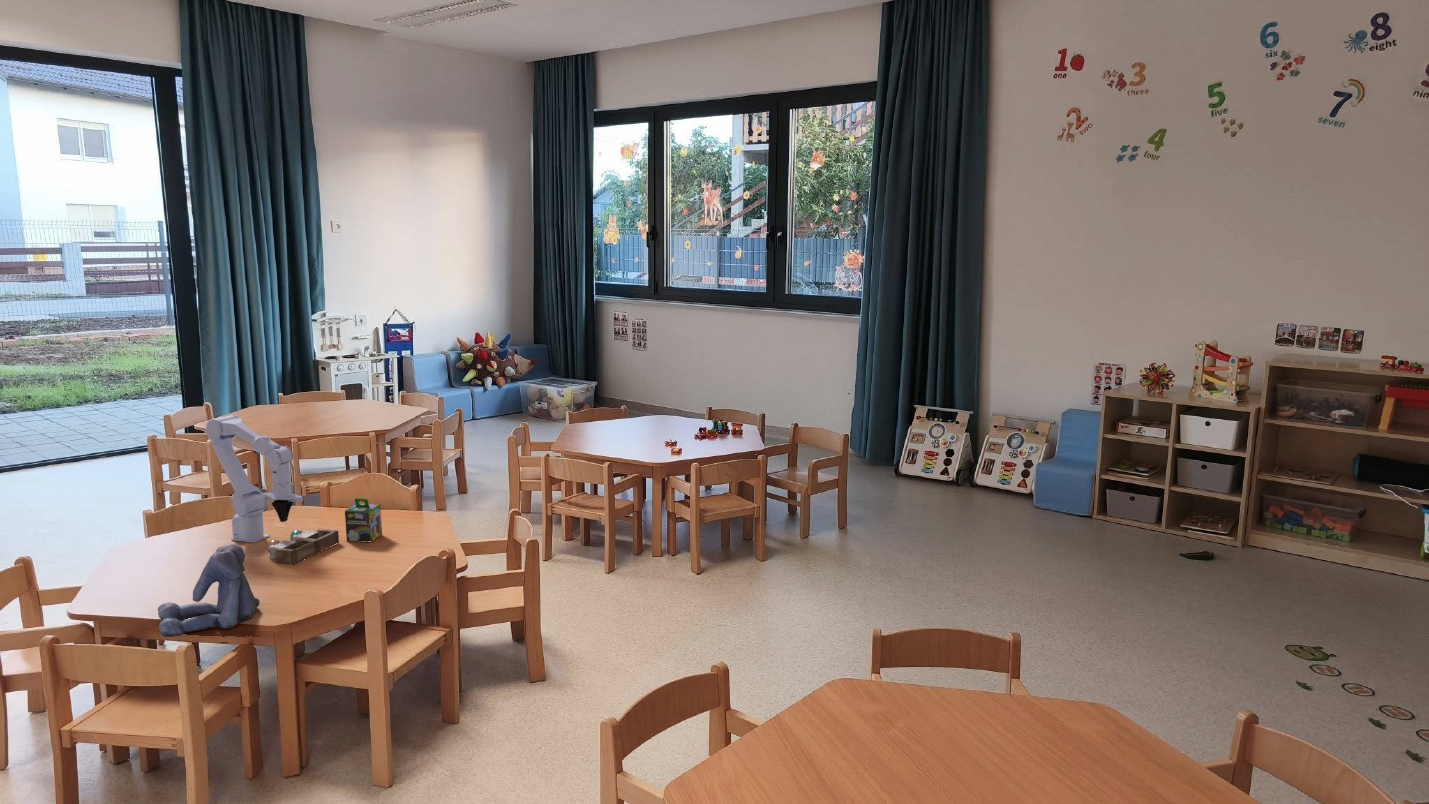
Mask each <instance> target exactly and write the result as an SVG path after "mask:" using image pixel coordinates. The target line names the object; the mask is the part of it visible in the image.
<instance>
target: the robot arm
mask: <svg viewBox="0 0 1429 804" xmlns="http://www.w3.org/2000/svg"><path fill="white" fill-rule="evenodd" d="M204 430H205V432H206V434H207V436H208V439H209V440H210V442H211V446H212V449H213V451H214V453H215V454H216V456H217V458H218V460H219V462H220V464H221V466H222V468H223V470H224V473H225V475H226V476H227V479H228V480H229V482H230V485H231V487H232V489H233V490H234V492H233V494H232V496H231V498H230V500H231V503H232V507H233V511H234V513H236V514H234V516H232V520H231V528H232V538H231V541H234V542H235V541H237V542H244V543H257V542H260V541H261V540H264V539H266V538H268V537H271V535H270V534H267V533H264V518H263V517H264V516H263V513H264V512H265V509H266V508H267V506H268V500H271V501H273V502H271V506H272V507H273V508H274V510H275V512H276V514H277V516H278V519H279V522H280V523H285V522H287V521H288V519H289V513H290V511H291V509H292V506H293V505H294V503H296V504H300V503H302V502H303V501H304V498H303V497H304V496H303V495H298V494H294V493H292V481H291V480H292V479H291V465H290V463H291V462H292V461H293V460H294V453H293V450H292V449H291V448H290V447H289V446H287V445H283V446H282V445H280V444H278V443H276V442H275V441H273V440H272V439H270V437H269V436H268V435H261V436H260V435H259V434H257V433H256V432H255V431H253V430H252V429H251V428H250V427H248V426H247V425H246V424H244V421H243V419H242V418H241V417H239V416H238V415H236V414H231V415H227V416H221V417H217V418H210V419H209V420H208V421H207V423H206V426H205V429H204ZM236 437H239V438H241V440H242V439H243V440H244V441H246V442H247V443H248V444H251V445H252V449H253V450H254V451H255V452H257V453H258V454H260V455H261V456H263V458H264V457H265V458H266V461H267V464H268V465H269V470H270V471H271V484H272V485H271V486H272V487H271V488H272V492H265V493H263V492H262V491H261V489H260V487H257V486H255V485H253V484H252V483H251V482H250V479H249V477H248V476H247V474H246V472H245V469H244V468H243V466H242V464H241V462H240V460H239V458H238V455H237V453H236V452H235V450H234V448H233V445H232V444H233V441H234V440H235V439H236Z"/></svg>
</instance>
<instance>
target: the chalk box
mask: <svg viewBox="0 0 1429 804" xmlns="http://www.w3.org/2000/svg"><path fill="white" fill-rule="evenodd" d="M360 502H362V503H360ZM354 503H355V504H353V505H351V506H350V507H349V508H347V509H345V510H344V519H345V532H346V533H345V535H346V537H345V538H346V541H347V540H348V541H347V542H354V541H372V540H373V539H374V538H376V539H378V538H379V537H380V535H381V534H382V535H383V526H382V511H381V510H382V509H381V504H380V503H369V500H368V499H367V498H357V497H356V498H354ZM382 535H381V536H382ZM378 536H379V537H378ZM377 537H378V538H377ZM373 541H374V540H373ZM373 541H372V542H373Z"/></svg>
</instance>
